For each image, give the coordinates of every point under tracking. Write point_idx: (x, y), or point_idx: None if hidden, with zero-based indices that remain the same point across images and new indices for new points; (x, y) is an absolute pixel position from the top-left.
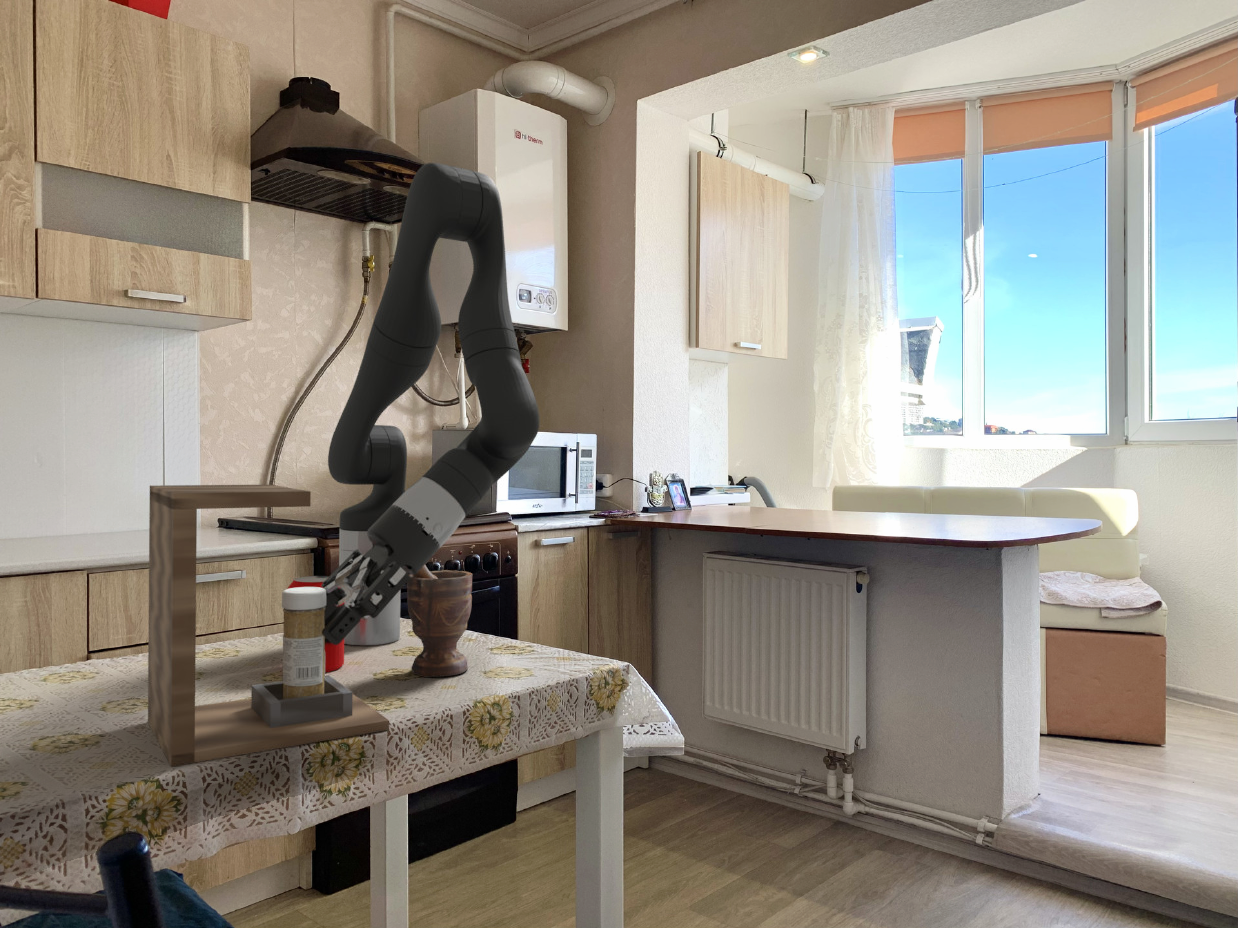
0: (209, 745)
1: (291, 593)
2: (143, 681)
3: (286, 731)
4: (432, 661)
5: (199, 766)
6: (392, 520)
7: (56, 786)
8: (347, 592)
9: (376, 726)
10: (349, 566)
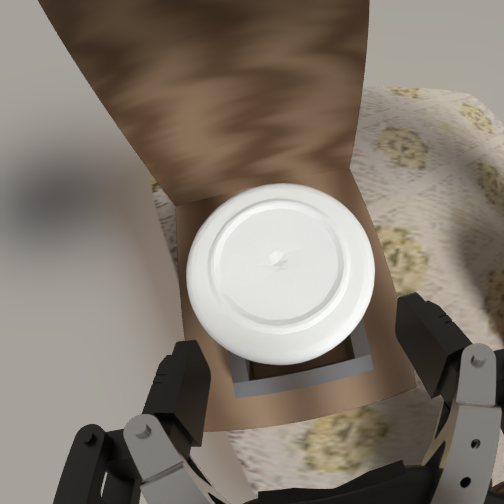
0: (188, 217)
1: (215, 211)
2: (476, 158)
3: None
4: None
5: (167, 217)
6: None
7: None
8: (434, 442)
9: None
10: (476, 488)
